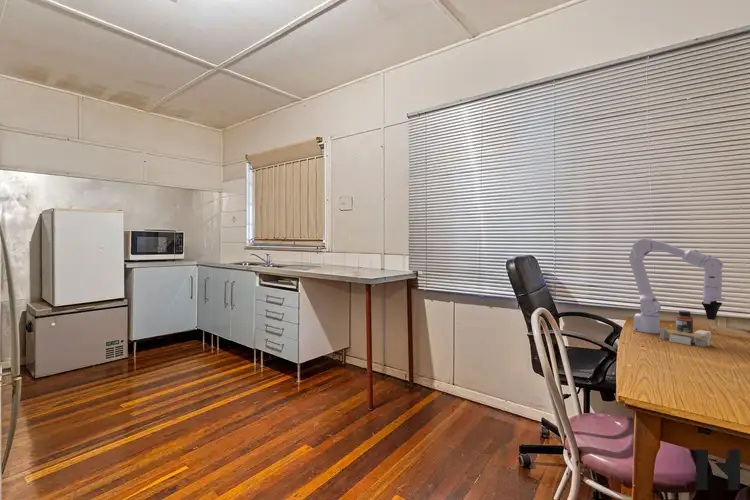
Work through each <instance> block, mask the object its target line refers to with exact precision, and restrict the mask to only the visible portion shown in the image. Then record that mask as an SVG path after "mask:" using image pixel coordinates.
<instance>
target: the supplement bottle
mask: <svg viewBox="0 0 750 500" xmlns="http://www.w3.org/2000/svg"><path fill="white" fill-rule="evenodd" d="M675 331H681V332H687V333H693V334H694V332H693V331H694V318H693V316H692V315H691V311H689V310H683V309H681V310H680V309H679V311H678V314H677V315H676V317H675Z"/></svg>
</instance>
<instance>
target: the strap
mask: <svg viewBox="0 0 750 500" xmlns="http://www.w3.org/2000/svg"><path fill="white" fill-rule="evenodd" d="M665 332H668V334H672V333H674V334H680V335H686V336H692V337H698V338H703V337H704V336H699V335H694V332H693V333H687V332H681V331H676V329H674V330H673V329H665Z"/></svg>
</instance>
